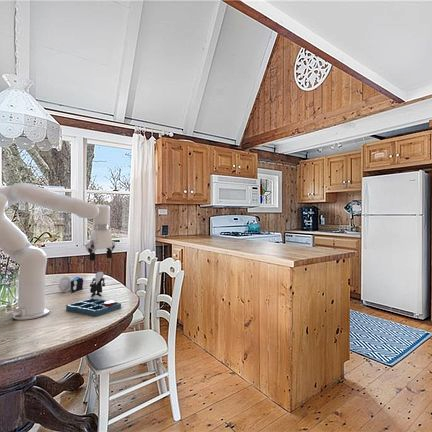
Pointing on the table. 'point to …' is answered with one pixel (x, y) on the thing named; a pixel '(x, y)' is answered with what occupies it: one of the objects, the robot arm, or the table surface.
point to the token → (109, 303)
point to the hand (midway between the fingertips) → (100, 259)
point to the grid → (92, 307)
